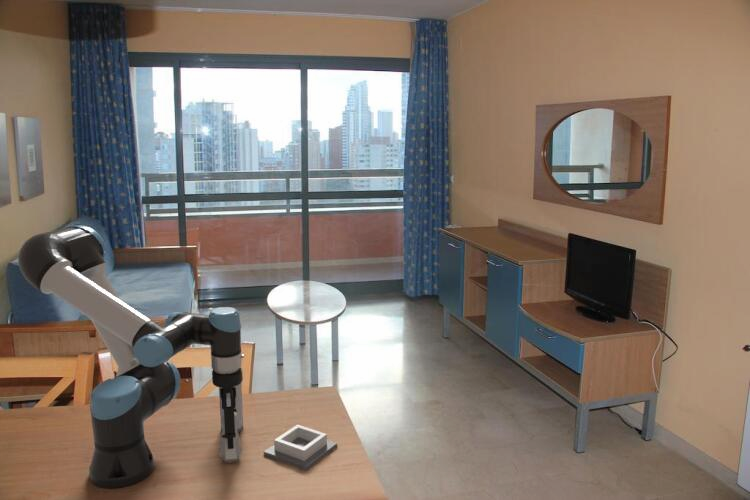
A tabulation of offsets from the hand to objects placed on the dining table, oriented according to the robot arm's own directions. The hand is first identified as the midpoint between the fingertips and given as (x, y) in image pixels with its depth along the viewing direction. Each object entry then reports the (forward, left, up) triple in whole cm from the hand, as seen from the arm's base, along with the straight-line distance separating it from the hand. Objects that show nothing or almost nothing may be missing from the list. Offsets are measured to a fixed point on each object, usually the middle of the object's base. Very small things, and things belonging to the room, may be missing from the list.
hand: (230, 447), depth 168 cm
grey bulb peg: (0, 0, -3) cm, 3 cm away
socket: (+13, +13, -3) cm, 19 cm away
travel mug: (-11, +12, -3) cm, 17 cm away
